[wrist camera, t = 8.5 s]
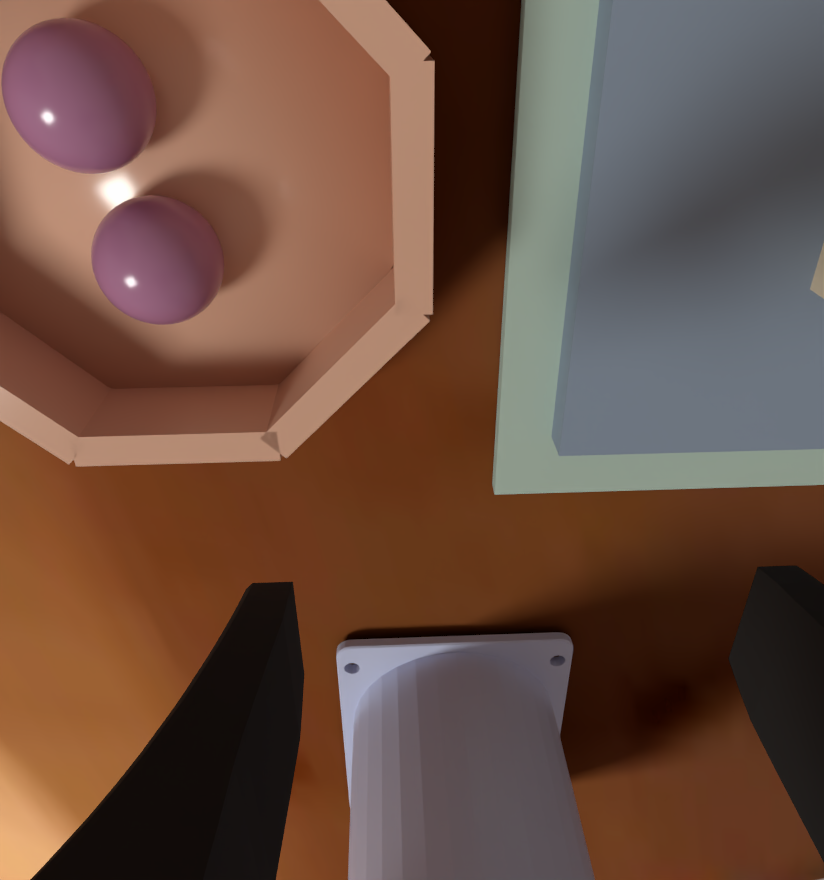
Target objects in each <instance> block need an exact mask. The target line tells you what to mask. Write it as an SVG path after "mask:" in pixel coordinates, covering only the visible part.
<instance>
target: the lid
mask: <svg viewBox="0 0 824 880" xmlns="http://www.w3.org/2000/svg"><path fill="white" fill-rule="evenodd" d="M551 437H552V439H553V442H554V445H555V447H556V450H557V452H558V455H559V456H582V455H620V454H657V453H695V452H732V451H770V450H807V449H824V0H599V8H598V18H597V27H596V36H595V45H594V54H593V63H592V72H591V81H590V90H589V99H588V108H587V118H586V127H585V136H584V145H583V154H582V163H581V172H580V181H579V190H578V199H577V208H576V218H575V227H574V236H573V245H572V254H571V263H570V272H569V281H568V290H567V299H566V308H565V318H564V327H563V336H562V345H561V354H560V363H559V372H558V381H557V390H556V399H555V409H554V418H553V427H552V436H551Z"/></svg>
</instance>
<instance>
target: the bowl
mask: <svg viewBox="0 0 824 880" xmlns="http://www.w3.org/2000/svg"><path fill="white" fill-rule="evenodd" d="M430 53H431V51H430V50H429V48H428V47H427V46H426V45H425V44H424V43H423V42H422V41H421V39H420V38H419V37H418V36H417V35H416V34H415V33H414V32H413V30H412V29H411V28H410V27H409V26H408V25H407V24H406V23H405V21H404V20H403V19H402V18H401V17H400V16H399V15H398V14H397V12H396V11H395V10H394V9H393V8H392V7H391V6H390V5H389V3H388V2H387V1H386V0H0V421H1V422H3V423H5V424H6V425H8V426H9V427H11V428H12V429H14V430H16V431H17V432H19V433H20V434H22V435H23V436H25V437H27V438H28V439H30V440H31V441H33V442H34V443H36V444H38V445H39V446H41V447H42V448H44V449H46V450H47V451H49V452H50V453H52V454H53V455H55V456H57V457H58V458H60V459H61V460H63V461H64V462H66V463H68V464H70V463H71V462H72V461H73V460H74V461H75V465H76V466H110V465H145V464H181V463H216V462H251V461H281V456H282V455H283V456H284V457H285V458H287V457H288V456H290V455H291V454H292V453H293V452H294V451H295V450H296V449H297V448H298V447H299V446H300V445H301V444H302V443H303V442H304V441H305V440H306V439H307V438H308V437H309V436H310V435H311V434H312V433H314V432H315V431H316V430H317V429H318V428H319V427H320V426H321V425H322V424H323V423H324V422H325V421H326V420H327V419H328V418H329V417H330V416H331V415H332V414H333V413H334V412H335V411H336V410H338V409H339V408H340V407H341V406H342V405H343V404H344V403H345V402H346V401H347V400H348V399H349V398H350V397H351V396H352V395H353V394H354V393H355V392H356V391H357V390H358V389H359V388H360V387H362V386H363V385H364V384H365V383H366V382H367V381H368V380H369V379H370V378H371V377H372V376H373V375H374V374H375V373H376V372H377V371H378V370H379V369H380V368H381V367H382V366H383V365H384V364H386V363H387V362H388V361H389V360H390V359H391V358H392V357H393V356H394V355H395V354H396V353H397V352H398V351H399V350H400V349H401V348H402V347H403V346H404V345H405V344H406V343H407V342H408V341H410V340H411V339H412V338H413V337H414V336H415V335H416V334H417V333H418V332H419V331H420V330H421V329H422V328H423V327H424V326H425V325H426V324H427V323H428V322H429V321H430V318H429V314H433V222H434V75H435V61H434V60H433V58H432V57H431V56H430V55H429V54H430Z"/></svg>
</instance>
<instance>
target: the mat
mask: <svg viewBox="0 0 824 880" xmlns="http://www.w3.org/2000/svg"><path fill="white" fill-rule="evenodd" d="M598 8H599V0H521V16H520V33H519V50H518V66H517V83H516V100H515V116H514V133H513V149H512V166H511V183H510V199H509V216H508V233H507V249H506V266H505V282H504V299H503V316H502V332H501V349H500V366H499V382H498V399H497V415H496V432H495V449H494V465H493V482H492V485H493V490H494V494H495V495H496V494H530V493H563V492H596V491H630V490H663V489H697V488H730V487H763V486H797V485H824V449H807V450H770V451H732V452H695V453H657V454H620V455H582V456H559V455H558V452H557V450H556V447H555V445H554V442H553V439H552V437H551V436H552V427H553V418H554V409H555V399H556V390H557V381H558V372H559V363H560V354H561V345H562V336H563V327H564V318H565V308H566V299H567V290H568V281H569V272H570V263H571V254H572V245H573V236H574V227H575V218H576V208H577V199H578V190H579V181H580V172H581V163H582V154H583V145H584V136H585V127H586V118H587V108H588V99H589V90H590V81H591V72H592V63H593V54H594V45H595V36H596V27H597V18H598Z"/></svg>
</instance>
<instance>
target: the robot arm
mask: <svg viewBox="0 0 824 880" xmlns="http://www.w3.org/2000/svg"><path fill="white" fill-rule="evenodd" d="M558 655H559V656H558ZM572 655H573V644H572V640H571V638H570V637H569V635H567V634H565V633H560V632H551V633H523V634H495V635H467V636H438V637H410V638H382V639H354V640H346V641H344V642H342V643H340V644H339V645H338V647H337V655H336V660H337V671H338V682H339V693H340V704H341V715H342V726H343V737H344V748H345V759H346V770H347V781H348V792H349V803H350V808H351V809H350V837H349V866H348V880H595V878H594V874H593V870H592V866H591V862H590V858H589V854H588V850H587V845H586V841H585V837H584V833H583V829H582V825H581V821H580V817H579V813H578V809H577V804H576V800H575V796H574V792H573V788H572V784H571V780H570V776H569V772H568V768H567V763H566V759H565V755H564V751H563V747H562V743H561V739H560V733H561V726H562V720H563V713H564V707H565V700H566V694H567V687H568V681H569V674H570V668H571V661H572ZM554 656H558V657H554ZM729 662H730V664H731V667H732V670H733V673H734V676H735V679H736V682H737V685H738V688H739V690H740V693H741V696H742V699H743V701H744V704H745V706H746V709H747V712H748V714H749V717H750V719H751V722H752V724H753V726H754V728H755V730H756V732H757V734H758V736H759V738H760V740H761V742H762V744H763V746H764V748H765V750H766V752H767V754H768V756H769V758H770V760H771V762H772V763H773V765H774V767H775V769H776V771H777V773H778V775H779V777H780V779H781V781H782V783H783V785H784V787H785V789H786V791H787V792H788V794H789V796H790V798H791V800H792V802H793V804H794V806H795V808H796V810H797V812H798V814H799V816H800V817H801V819H802V821H803V823H804V825H805V827H806V829H807V831H808V833H809V835H810V837H811V839H812V840H813V842H814V844H815V846H816V848H817V850H818V852H819V854H820V856H821V858H822V860H823V862H824V585H823V584H822V583H820V582H819V581H818V580H816V579H815V578H814V577H812V576H811V575H809V574H808V573H806V572H805V571H804V570H802V569H801V568H799V567H798V566H768V567H758V568H757V571H756V574H755V577H754V580H753V583H752V586H751V590H750V593H749V596H748V599H747V602H746V605H745V609H744V612H743V615H742V618H741V621H740V624H739V627H738V631H737V634H736V637H735V640H734V643H733V646H732V649H731V653H730V656H729ZM349 663H356V664H353V665H352V664H349ZM303 685H304V669H303V661H302V653H301V645H300V637H299V629H298V621H297V613H296V605H295V596H294V588H293V582H275V583H252V584H251V585H250V586H249V587H248V588H247V589H246V590H245V592H244V594H243V596H242V598H241V600H240V602H239V604H238V606H237V608H236V610H235V611H234V613H233V615H232V617H231V619H230V620H229V622H228V624H227V626H226V627H225V629H224V631H223V633H222V634H221V636H220V638H219V639H218V641H217V642H216V644H215V646H214V647H213V649H212V651H211V652H210V654H209V656H208V657H207V659H206V660H205V662H204V663H203V665H202V666H201V668H200V669H199V671H198V673H197V674H196V676H195V677H194V679H193V680H192V682H191V683H190V685H189V686H188V688H187V689H186V691H185V692H184V694H183V695H182V697H181V698H180V700H179V701H178V703H177V704H176V706H175V707H174V708H173V710H172V711H171V713H170V714H169V715H168V717H167V718H166V719H165V721H164V722H163V723H162V725H161V726H160V728H159V729H158V730H157V732H156V733H155V734H154V736H153V737H152V739H151V740H150V741H149V743H148V744H147V745H146V747H145V748H144V749H143V751H142V752H141V753H140V755H139V756H138V757H137V759H136V760H135V761H134V762H133V764H132V765H131V766H130V767H129V769H128V770H127V771H126V772H125V774H124V775H123V776H122V777H121V779H120V780H119V781H118V782H117V784H116V785H115V786H114V787H113V789H112V790H111V791H110V792H109V793H108V794H107V796H106V797H105V798H104V799H103V800H102V802H101V803H100V804H99V805H98V806H97V807H96V809H95V810H94V811H93V812H92V813H91V814H90V816H89V817H88V818H87V819H86V820H85V821H84V822H83V824H82V825H81V826H80V827H79V828H78V829H77V830H76V831H75V832H74V833H73V835H72V836H71V837H70V838H69V839H68V840H67V841H66V842H65V843H64V844H63V845H62V847H61V848H60V849H59V850H58V851H57V852H56V853H55V854H54V855H53V856H52V857H51V859H50V860H49V861H48V862H47V863H46V864H45V865H44V866H43V867H42V868H41V869H40V870H39V871H38V872H37V873H36V874H35V876H34V877H33V878H32V879H31V880H276V874H277V869H278V863H279V857H280V851H281V846H282V840H283V834H284V829H285V823H286V817H287V811H288V806H289V800H290V794H291V788H292V783H293V777H294V771H295V765H296V759H297V753H298V747H299V741H300V731H301V717H302V702H303Z"/></svg>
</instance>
